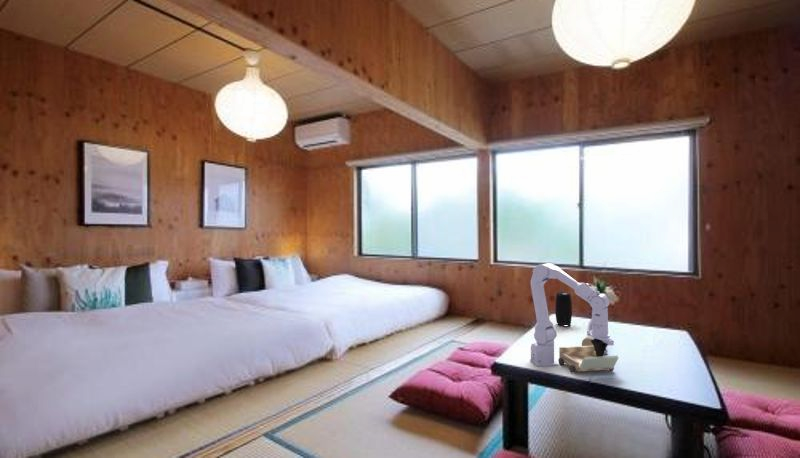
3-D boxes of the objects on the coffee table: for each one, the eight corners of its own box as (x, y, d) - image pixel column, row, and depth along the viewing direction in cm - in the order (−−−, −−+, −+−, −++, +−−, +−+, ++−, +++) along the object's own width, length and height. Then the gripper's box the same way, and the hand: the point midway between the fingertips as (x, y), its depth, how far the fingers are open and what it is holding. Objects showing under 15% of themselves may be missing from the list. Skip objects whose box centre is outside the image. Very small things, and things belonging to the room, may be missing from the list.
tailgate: (580, 369, 164) (585, 359, 161) (579, 367, 165) (583, 357, 162) (613, 367, 166) (618, 357, 163) (612, 365, 167) (617, 355, 163)
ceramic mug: (580, 351, 195) (580, 335, 194) (586, 347, 201) (587, 332, 200) (603, 356, 187) (604, 340, 187) (609, 352, 193) (610, 336, 193)
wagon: (574, 375, 165) (574, 357, 165) (557, 363, 179) (557, 347, 179) (615, 372, 167) (615, 355, 167) (595, 361, 181) (595, 345, 181)
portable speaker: (557, 322, 250) (557, 290, 250) (573, 324, 245) (573, 292, 245) (553, 325, 243) (553, 292, 243) (570, 327, 238) (570, 294, 238)
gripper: (621, 328, 156) (620, 363, 156) (598, 319, 170) (598, 351, 171) (604, 329, 155) (604, 364, 155) (582, 320, 170) (582, 352, 170)
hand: (599, 357), depth 163 cm, fingers closed, pressing on tailgate
